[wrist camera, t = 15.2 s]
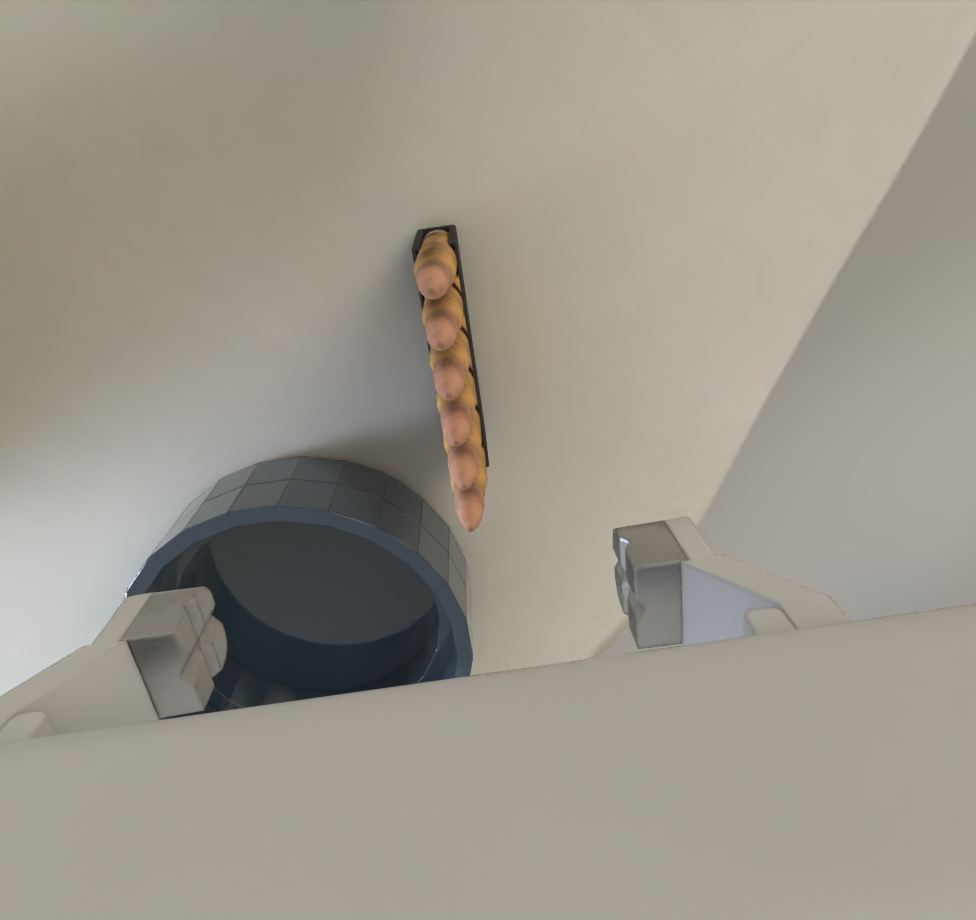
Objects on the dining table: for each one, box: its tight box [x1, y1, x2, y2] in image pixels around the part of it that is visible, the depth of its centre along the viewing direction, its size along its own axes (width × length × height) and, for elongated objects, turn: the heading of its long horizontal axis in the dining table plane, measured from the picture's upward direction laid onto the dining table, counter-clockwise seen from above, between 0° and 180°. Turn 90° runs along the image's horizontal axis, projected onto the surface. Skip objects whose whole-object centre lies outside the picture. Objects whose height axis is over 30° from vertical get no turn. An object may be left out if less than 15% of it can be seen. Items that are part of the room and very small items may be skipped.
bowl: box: [124, 457, 473, 720], centre depth 38 cm, size 18×18×6 cm
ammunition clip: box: [412, 225, 489, 532], centre depth 29 cm, size 11×2×12 cm, turn 8°
